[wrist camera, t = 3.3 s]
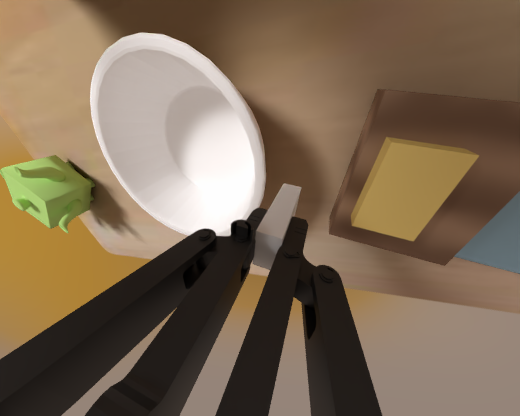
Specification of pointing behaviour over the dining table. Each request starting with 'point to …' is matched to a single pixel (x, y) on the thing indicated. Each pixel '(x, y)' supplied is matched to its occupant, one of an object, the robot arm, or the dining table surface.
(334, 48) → the dining table surface
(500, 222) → the mat
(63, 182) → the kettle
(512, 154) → the brown wooden slab
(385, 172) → the block
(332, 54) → the dining table surface
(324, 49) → the dining table surface
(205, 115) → the bowl
